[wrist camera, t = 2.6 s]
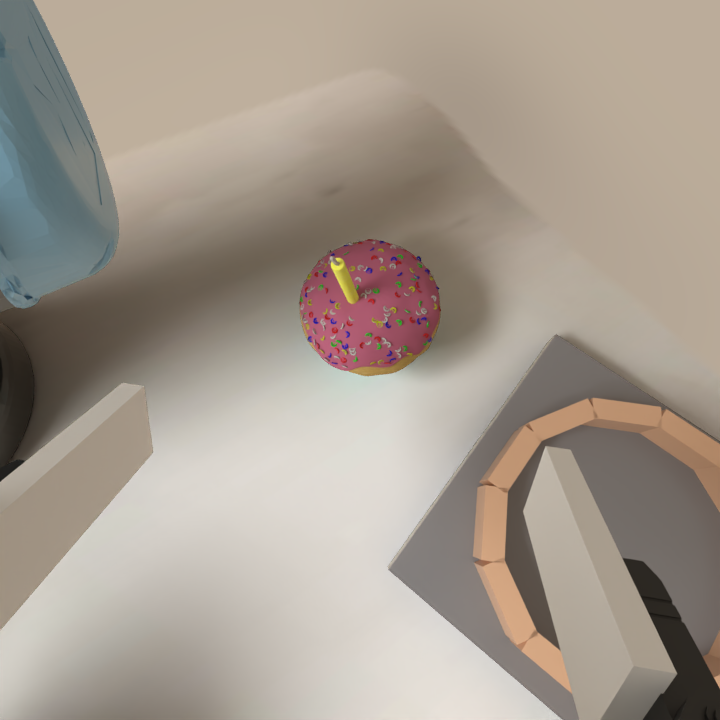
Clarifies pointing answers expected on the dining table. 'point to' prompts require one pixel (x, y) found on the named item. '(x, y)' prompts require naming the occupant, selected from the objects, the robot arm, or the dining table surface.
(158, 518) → the dining table surface
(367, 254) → the cupcake
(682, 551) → the ring dish
